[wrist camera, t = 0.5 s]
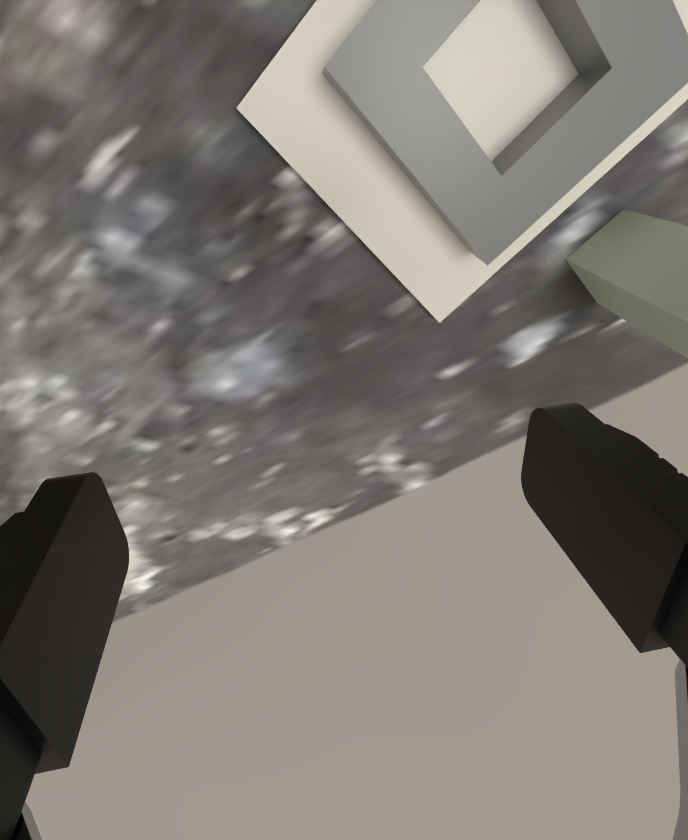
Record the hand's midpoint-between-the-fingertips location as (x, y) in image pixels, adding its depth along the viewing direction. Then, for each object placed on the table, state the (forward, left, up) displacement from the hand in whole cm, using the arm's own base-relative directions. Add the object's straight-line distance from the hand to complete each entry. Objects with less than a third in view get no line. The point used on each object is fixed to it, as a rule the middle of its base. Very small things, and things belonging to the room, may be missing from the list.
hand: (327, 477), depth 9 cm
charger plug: (-12, +14, -22) cm, 29 cm away
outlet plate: (-12, +1, -22) cm, 25 cm away
